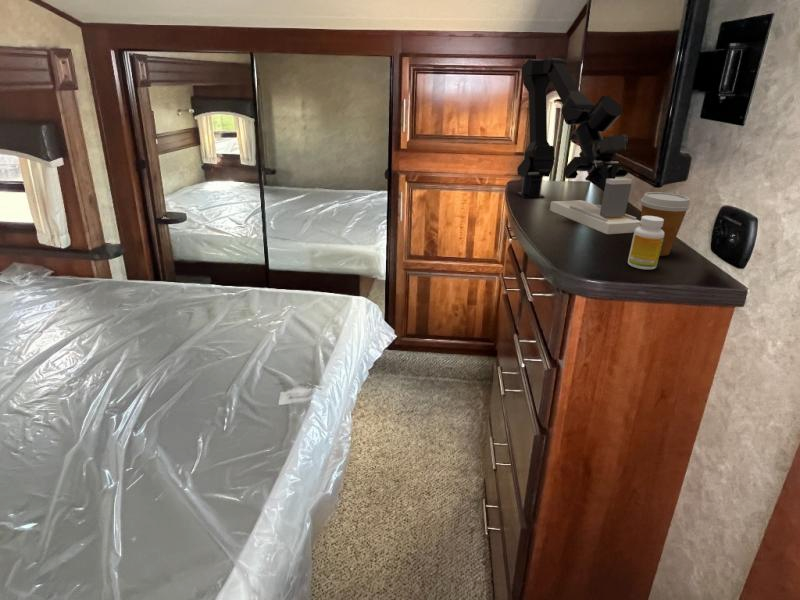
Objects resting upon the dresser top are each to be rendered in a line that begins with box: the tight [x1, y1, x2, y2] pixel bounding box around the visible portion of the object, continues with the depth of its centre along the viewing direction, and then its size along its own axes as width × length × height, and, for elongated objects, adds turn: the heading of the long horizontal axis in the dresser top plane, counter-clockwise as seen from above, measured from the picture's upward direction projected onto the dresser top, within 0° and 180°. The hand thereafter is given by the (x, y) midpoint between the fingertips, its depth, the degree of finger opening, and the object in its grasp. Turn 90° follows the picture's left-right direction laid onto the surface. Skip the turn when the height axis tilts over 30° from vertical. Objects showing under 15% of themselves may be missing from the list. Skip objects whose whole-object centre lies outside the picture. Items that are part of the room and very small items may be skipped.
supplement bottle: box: [627, 216, 664, 271], centre depth 102 cm, size 5×5×10 cm
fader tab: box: [600, 177, 633, 217], centre depth 127 cm, size 2×6×9 cm, turn 109°
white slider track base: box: [549, 199, 641, 235], centre depth 135 cm, size 24×10×3 cm, turn 19°
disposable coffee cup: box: [640, 191, 692, 257], centre depth 110 cm, size 10×10×12 cm
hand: (612, 195), depth 128 cm, fingers closed, pressing on fader tab
